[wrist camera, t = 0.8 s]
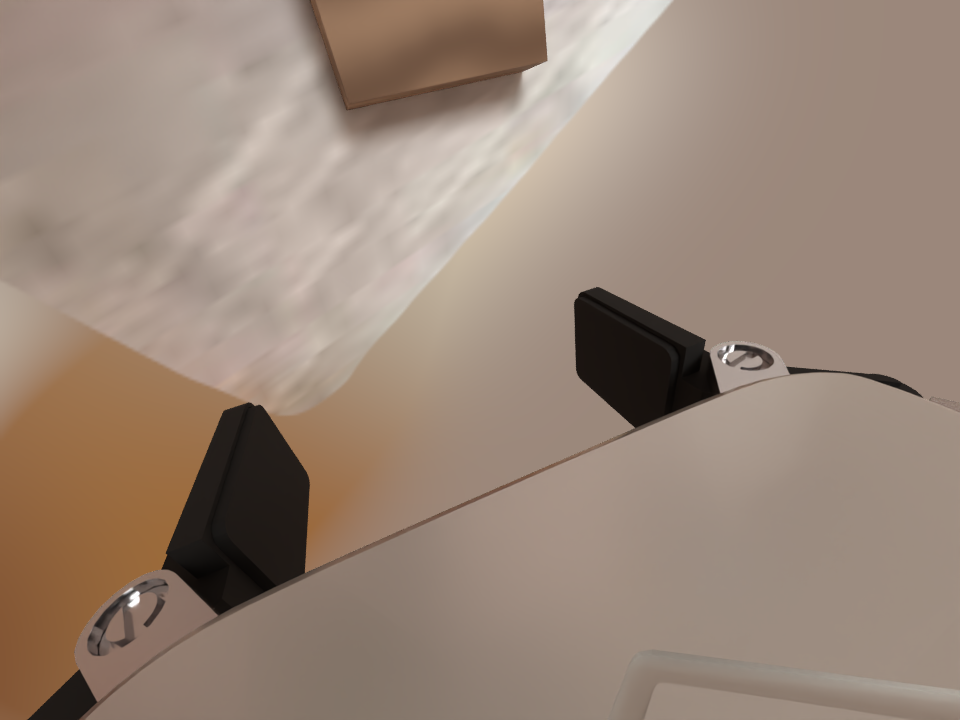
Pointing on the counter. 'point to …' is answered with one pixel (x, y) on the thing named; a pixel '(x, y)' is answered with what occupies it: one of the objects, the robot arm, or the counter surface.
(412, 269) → the counter surface
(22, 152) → the counter surface
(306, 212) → the counter surface
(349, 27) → the walnut block
